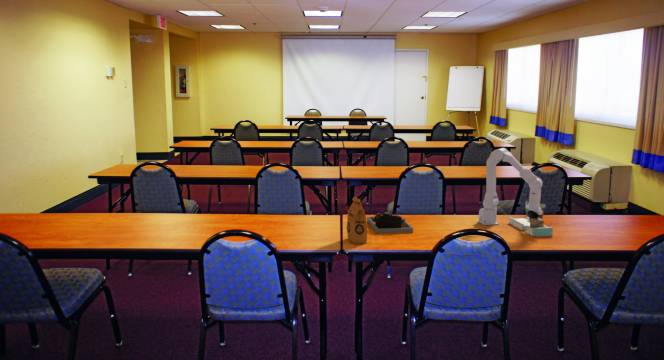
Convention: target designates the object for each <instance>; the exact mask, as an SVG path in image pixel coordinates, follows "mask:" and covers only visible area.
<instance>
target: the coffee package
mask: <svg viewBox="0 0 664 360" xmlns="http://www.w3.org/2000/svg"><path fill="white" fill-rule="evenodd" d="M346 221H347V222H346V232H347V236H346V237H347V238H348V239H349V241H350V242H351V243H352V244H353V245H362V244H363V245H364V244H368V221H367V216H366V213H365V209H364V207H363V205H362V201H361V199H359V198H357V197H355V196H353V197H352V203H351V205H350V206H349V209H348V210H347V219H346Z"/></svg>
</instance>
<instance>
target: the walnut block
mask: <svg viewBox="0 0 664 360" xmlns="http://www.w3.org/2000/svg"><path fill="white" fill-rule="evenodd" d="M544 225H545V220H544V219H543V218H542V219H540V218H531V219H530V227H531V228H543V227H544Z"/></svg>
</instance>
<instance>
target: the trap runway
mask: <svg viewBox="0 0 664 360" xmlns="http://www.w3.org/2000/svg"><path fill="white" fill-rule="evenodd" d="M508 219H509V220H508V223H509V224H511V225H512V226H514V227H515V228H517V229H519V230H521V231H522V232H524V233H526V234H527V235H529V234H530V236H532V237H533V236H537V237H553V233H554V227H549V226H547V225H545V224H544V227H543V228H531V227H530V219H529V217H526V216H525V218H521V217H520V218H514V217H511V216H509V218H508Z"/></svg>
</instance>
